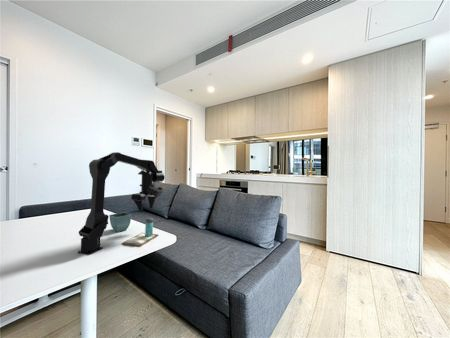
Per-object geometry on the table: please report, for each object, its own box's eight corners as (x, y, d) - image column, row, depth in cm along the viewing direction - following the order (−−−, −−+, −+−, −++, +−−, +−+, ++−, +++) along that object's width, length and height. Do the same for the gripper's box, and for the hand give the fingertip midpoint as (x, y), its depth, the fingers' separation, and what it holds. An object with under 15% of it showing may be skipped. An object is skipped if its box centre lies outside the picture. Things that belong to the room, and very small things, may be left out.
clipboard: (140, 246, 87) (140, 243, 87) (121, 244, 90) (121, 241, 90) (158, 235, 102) (158, 233, 102) (142, 233, 104) (142, 231, 104)
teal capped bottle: (149, 237, 97) (150, 220, 97) (143, 236, 98) (144, 219, 98) (154, 235, 101) (154, 218, 101) (147, 234, 102) (148, 217, 102)
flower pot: (115, 233, 103) (115, 217, 103) (108, 230, 108) (108, 214, 108) (131, 230, 110) (131, 214, 110) (124, 226, 115) (124, 212, 115)
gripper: (149, 184, 96) (149, 215, 96) (168, 182, 114) (167, 208, 114) (130, 183, 98) (129, 213, 98) (152, 181, 116) (151, 206, 116)
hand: (146, 210), depth 107 cm, fingers open, 9 cm apart
